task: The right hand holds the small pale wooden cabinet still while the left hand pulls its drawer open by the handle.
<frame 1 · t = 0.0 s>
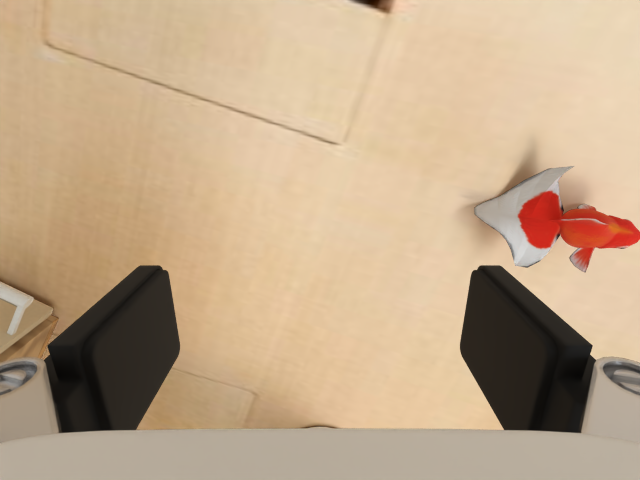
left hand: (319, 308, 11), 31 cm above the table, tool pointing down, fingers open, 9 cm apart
fish: (531, 214, 42), on the table
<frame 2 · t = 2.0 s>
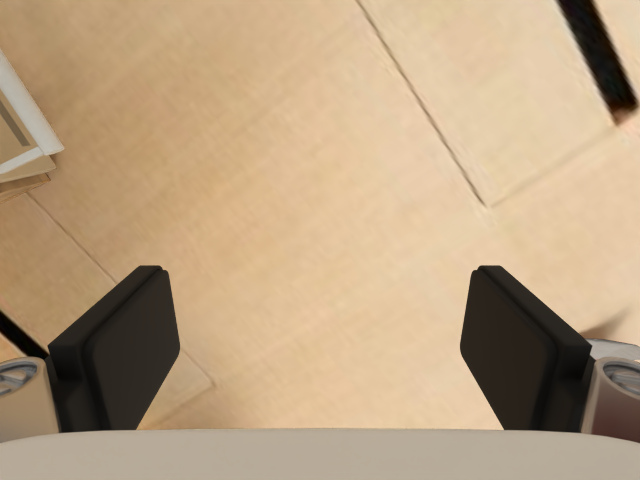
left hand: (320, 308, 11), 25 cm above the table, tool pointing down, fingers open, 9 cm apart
fish: (578, 367, 43), on the table
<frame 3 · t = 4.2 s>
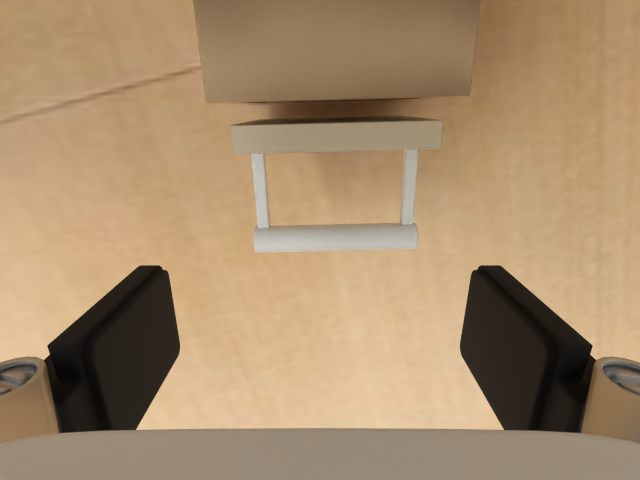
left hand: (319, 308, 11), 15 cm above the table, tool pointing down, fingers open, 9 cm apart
drawer: (331, 8, 17), point 5 cm above the table, slide at 0.9 cm
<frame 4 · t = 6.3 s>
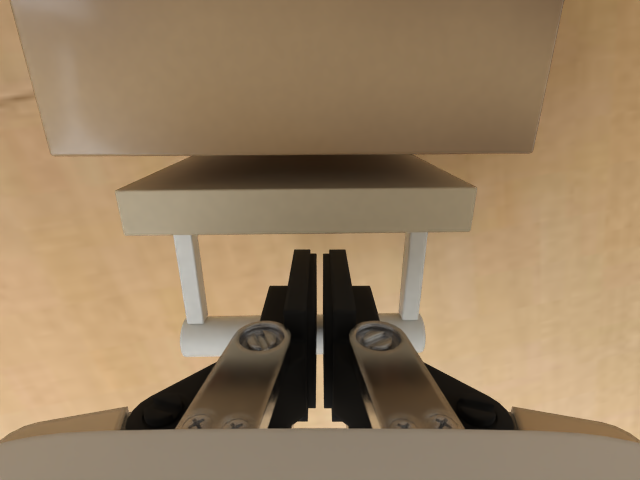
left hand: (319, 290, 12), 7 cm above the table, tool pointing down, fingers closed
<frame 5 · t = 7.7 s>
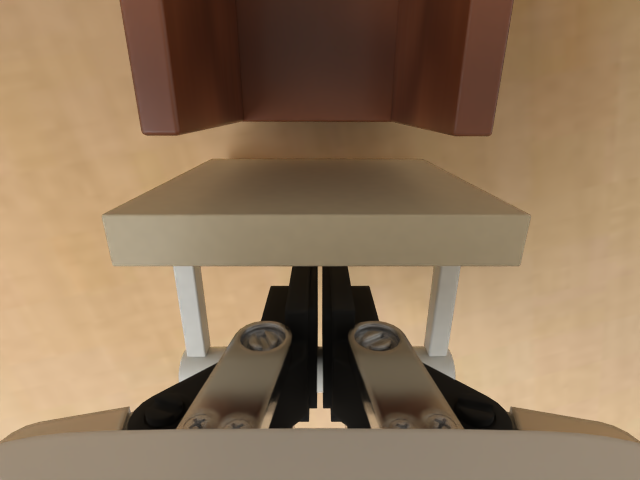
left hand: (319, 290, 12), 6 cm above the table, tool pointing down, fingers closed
when the right hand's fingers open (5 cm above the table, at t = 9.5 s): cabinet stays where it is, on the table.
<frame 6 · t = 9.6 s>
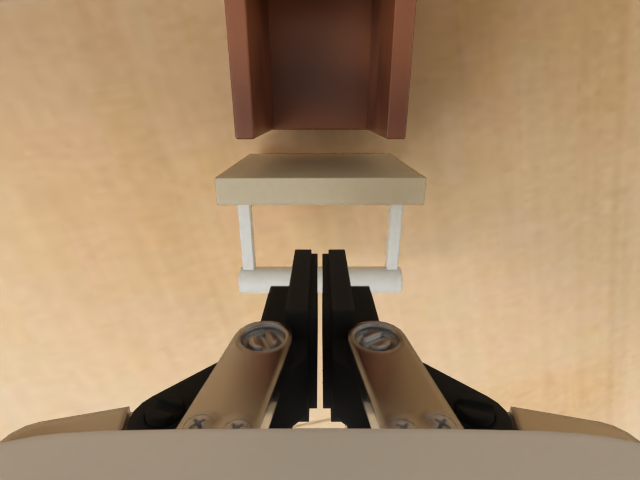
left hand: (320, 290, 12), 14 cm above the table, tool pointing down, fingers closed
drawer: (320, 56, 17), point 5 cm above the table, slide at 8.8 cm
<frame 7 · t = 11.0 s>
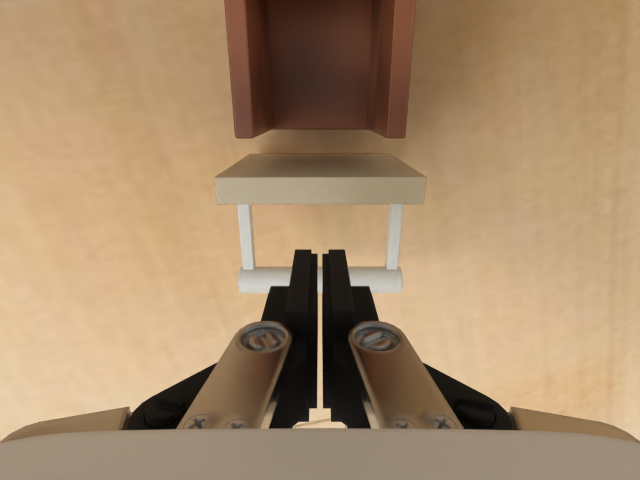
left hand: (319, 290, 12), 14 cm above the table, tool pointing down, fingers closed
drawer: (320, 56, 17), point 5 cm above the table, slide at 8.8 cm
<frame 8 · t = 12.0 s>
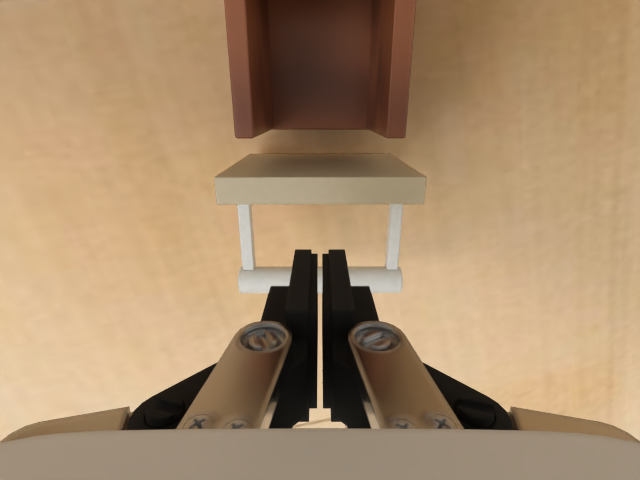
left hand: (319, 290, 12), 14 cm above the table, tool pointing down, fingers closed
drawer: (320, 56, 17), point 5 cm above the table, slide at 8.8 cm
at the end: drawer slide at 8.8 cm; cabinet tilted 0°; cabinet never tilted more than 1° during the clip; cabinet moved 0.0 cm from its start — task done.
